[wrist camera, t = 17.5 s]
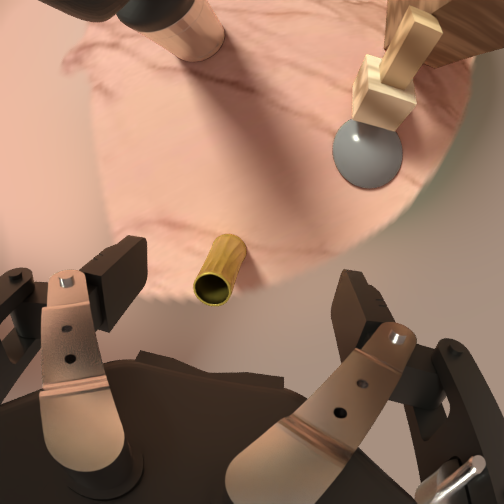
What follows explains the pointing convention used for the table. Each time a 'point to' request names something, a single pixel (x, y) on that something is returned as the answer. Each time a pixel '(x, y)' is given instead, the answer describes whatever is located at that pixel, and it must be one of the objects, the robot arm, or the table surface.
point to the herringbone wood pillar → (454, 27)
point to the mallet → (394, 73)
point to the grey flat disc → (367, 154)
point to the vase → (220, 270)
